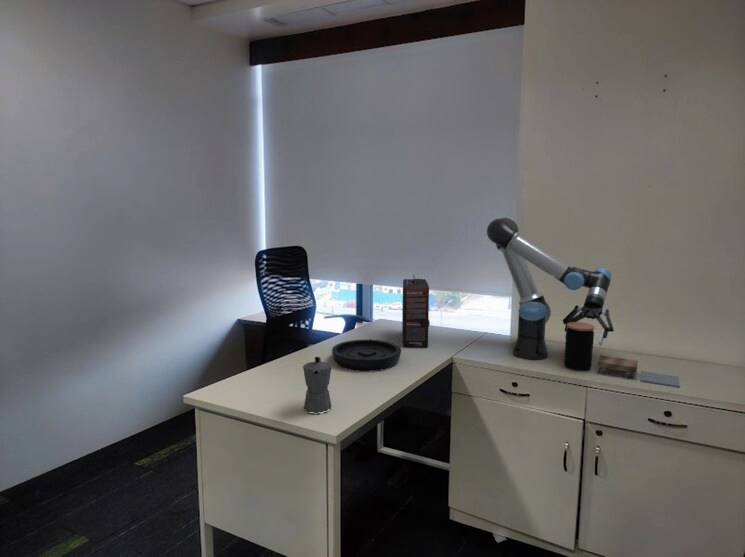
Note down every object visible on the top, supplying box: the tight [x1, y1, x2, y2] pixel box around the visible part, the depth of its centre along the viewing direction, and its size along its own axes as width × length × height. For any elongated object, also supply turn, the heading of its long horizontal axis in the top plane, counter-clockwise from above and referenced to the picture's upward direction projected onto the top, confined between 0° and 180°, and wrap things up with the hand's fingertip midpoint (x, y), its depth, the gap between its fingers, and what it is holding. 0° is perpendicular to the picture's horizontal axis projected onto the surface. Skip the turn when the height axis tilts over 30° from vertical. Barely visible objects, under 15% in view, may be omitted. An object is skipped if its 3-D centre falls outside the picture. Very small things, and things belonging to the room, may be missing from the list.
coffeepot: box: [302, 356, 333, 413], centre depth 164 cm, size 15×9×18 cm, turn 3°
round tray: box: [331, 339, 402, 372], centre depth 214 cm, size 30×6×30 cm
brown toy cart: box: [597, 354, 638, 380], centre depth 200 cm, size 14×10×5 cm
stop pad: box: [639, 370, 680, 389], centre depth 193 cm, size 13×12×1 cm
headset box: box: [401, 274, 430, 348], centre depth 243 cm, size 25×12×33 cm, turn 178°
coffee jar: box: [563, 321, 595, 371], centre depth 206 cm, size 11×11×18 cm
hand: (582, 341), depth 206 cm, fingers open, 13 cm apart
